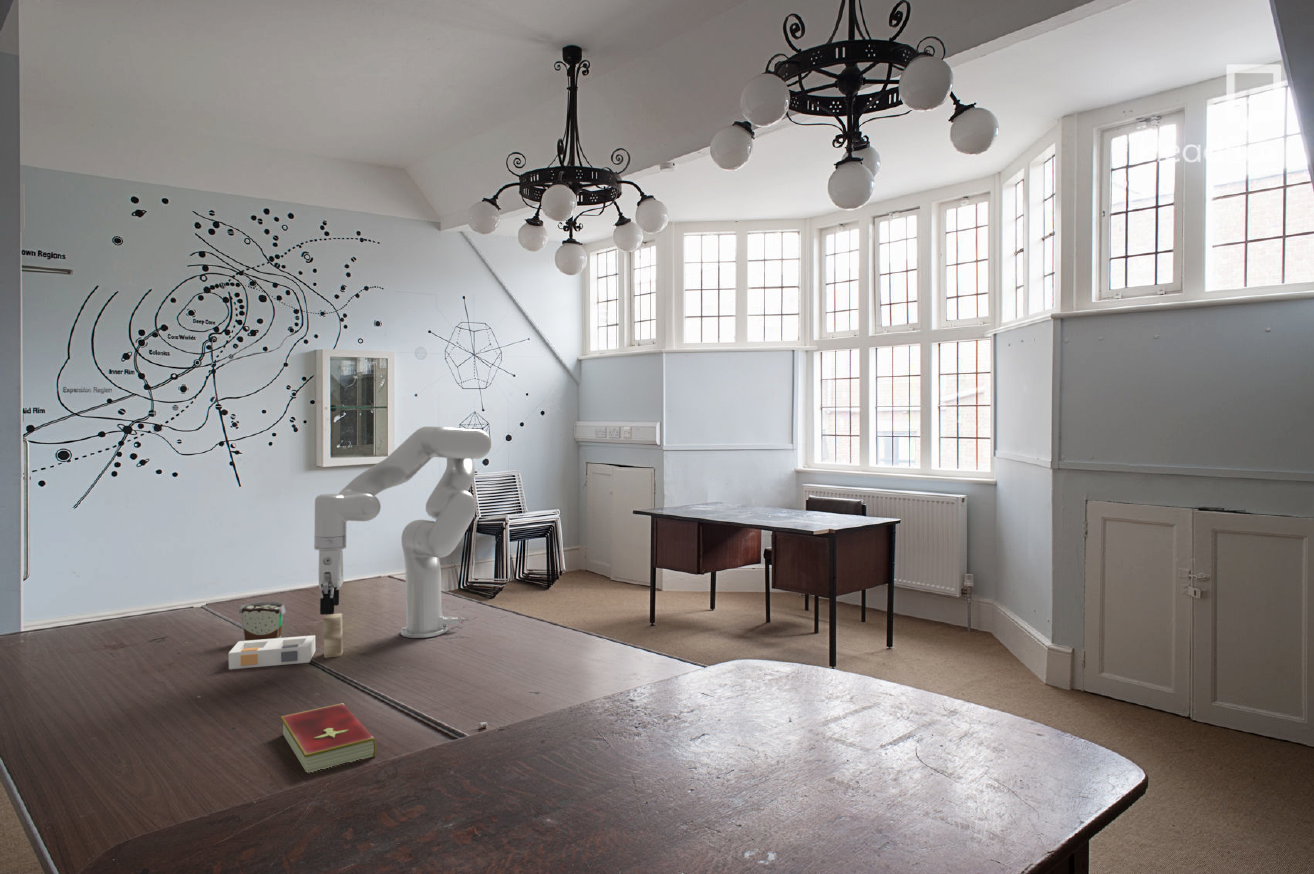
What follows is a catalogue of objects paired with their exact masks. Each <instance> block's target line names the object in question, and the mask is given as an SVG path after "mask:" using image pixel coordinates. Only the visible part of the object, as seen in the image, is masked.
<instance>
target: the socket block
mask: <svg viewBox="0 0 1314 874" xmlns="http://www.w3.org/2000/svg"><path fill="white" fill-rule="evenodd" d="M315 652H316V635H302V636H291V637H290V636H289V637H288V636H287V637H281V638H274V639H262V640H249V641H244V640H238V641H237V643H236V644H235V645H234V646H232V648H231V650H230V651H229V652H228V654H227V655H228V670H239V669H248V668H250V669H251V668H260V667H261V668H262V667H271V666H281V665H282V666H283V665H294V664H305V663H306V664H307V663H311V660H312V658H313V656H314V654H315Z"/></svg>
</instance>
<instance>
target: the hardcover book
mask: <svg viewBox="0 0 1314 874" xmlns="http://www.w3.org/2000/svg"><path fill="white" fill-rule="evenodd" d="M279 719H280V721H281V722H282V725H283V726H282V731H283V732H282V733H283V736H284V738H285V741H286V742H287V743H288V745H289V746H290V748H291V750H292V751H293V754H294V755H295V756H296V758H297V760H298V761H299V763H300V765H301V766H302V767H303V770H304V771H305V773H306V772H307V773H308V772H312V773H315V772H314V771H316V772H318V771H317V770H320V769H324V770H327V769H326V768H328V769H330V768H329V767H331V768H333V767H332V766H334V765H339V764H342V763H345V762H350V763H354V762H357V761H356V760H358V761H360V760H359V759H362V760H366V759H369V758H376V757H377V751H378V750H377V748H378V747H377V746H378V745H377V741H376V739H375V736H373V735H372V734H371V733H370V732H369V730H367V728H366V727H365V726H364V725H363V724H362V722H361V721H360V720H359V719H358V718H357V717H356V716H355V715H354V714H353V712H352V711H351V710H350V709H349V708H348V707H347V706H346V704H345V703H344V702H342V703H336V704H333V705H329V706H323V707H319V708H313V709H310V710H309V709H308V710H304V711H300V712H296V713H290V714H286V715H281V716H280V717H279ZM353 761H354V762H353ZM339 766H340V765H339ZM320 771H321V770H320Z"/></svg>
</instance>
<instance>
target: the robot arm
mask: <svg viewBox="0 0 1314 874" xmlns="http://www.w3.org/2000/svg"><path fill="white" fill-rule="evenodd" d="M491 448H492V440H491V438H490V436H489V434H488V432H486V431H485V430H482V429H481V428H459V427H458V428H457V427H447V426H422V427H420V428H418V429H417V430H415V431H414V432H413V433H412V434H411V435H409V436H408V438H407V439H406V440H404V441H403V442H402V443H401V444H400V445H399V446H398V447H397V448H396V449H395V450H393V451H392V453H390V454H389V455H387V457H386V458H385V459H383V460H382V461H381V460H380V461H379V462H378V463H376V464H375V465H373V466H372V467H369V468H368V469H366V470H365V471H363V472H361V473H360V474H358V475H357V476H356V477H355V478H353V479H352V480H351V481H350V482H348V483H347V485H345V487H344V488H342V489H341V490H340V491H339V493H323V494H319V495H316V497H315V499H314V541H313V542H314V543H313V544H314V545H313V547H314V550H315V551H318V588H319V589H320V590H321V591H320V592H321V593H320V598H319V599H320V600H319V604H320V605H319V614H320V615H322V616H325V615H326V614H335V606H336V607H337V606H339V604H340V588H341V587H342V585H343V583H344V553H343V552H344V551H343V550H344V549H347V522H369V521H371V520H374V519H375V518H376V517H377V516H378V515H379V514H380V512H381V501H380V500H379V499H378V497H377V496H376V495H378V494H379V493H381V492H383V491H385V490H387V489H390V488H394V487H397V486H400V485H402V484H404V483H407V482H408V481H410V480H411V479H412V478H413V477H415V475H416V474H418V472H419V471H420V470H421V469H422V468H423V467H425V466H426V464H427V463H428V462H430V461H431V460H432V459H433V458H446V468H445V471H444V473H442V476H441V478H440V480H439V481H438V482H437V483H436V485H435V487H434V489H433V491H432V492H431V493H430V495H429V497H428V499H427V501H426V504H425V511H426V514H427V515H428V516H429V517H430V518H431V519H434V520H435V521H433V520H429V519H416V520H413V521H410V522H409V523H407V524H406V526H405V527H404V528H403V531H402V533H401V547H402V552H403V558H404V567H405V568H404V571H405V572H404V574H405V617H406V618H405V619H406V620H405V621H406V622H405V623H406V626H404V627H402V628H400V635H401V636H402V637H405V638H408V639H409V638H411V639H425V638H431V637H432V638H433V637H436V636H437V637H438V636H441V635H443V634H445V633H447V632H448V625H459V617H458V616H453V615H452V616H445V615H444V614H443V612H442V569H441V568H442V567H441V562H440V558H445V557H447V556H450V555H451V554H452V552H453V551H454V550H456V548H457V546H458V545H459V543H460V541H461V540H462V539H463V536H465V533H466V532H467V530H468V528H469V526H470V525H471V523H472V521H473V520H474V518H475V515H476V510H477V502H476V498H475V497H474V495H473V494H472V493H471V492H469V490H470V488H471V486H472V485H473V482H474V480H475V476H476V475H475V474H476V472H475V470H476V469H475V465H474V459H476V460H478V459H482V458H484V457H485V456H487V455H488V454H489V453H490V450H491Z"/></svg>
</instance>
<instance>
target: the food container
mask: <svg viewBox="0 0 1314 874" xmlns="http://www.w3.org/2000/svg"><path fill="white" fill-rule="evenodd" d="M285 607H286V606H285V605H284V603H283V602H281V601H280V602H279V601H258V602H252V603H247V604H243V605H240V607H239V610H238V615H239V614H240V616H241V624H242V625H241V626H242V633H243V641H249V640H262V639H274V638H282V632H283V631H282V628H283V618H284V614H285V613H286V612H287V610H286V608H285Z"/></svg>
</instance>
